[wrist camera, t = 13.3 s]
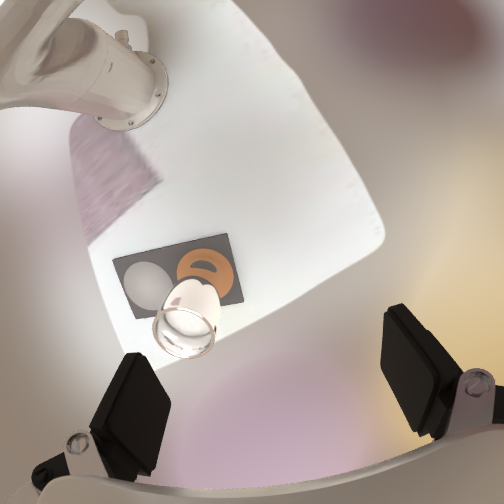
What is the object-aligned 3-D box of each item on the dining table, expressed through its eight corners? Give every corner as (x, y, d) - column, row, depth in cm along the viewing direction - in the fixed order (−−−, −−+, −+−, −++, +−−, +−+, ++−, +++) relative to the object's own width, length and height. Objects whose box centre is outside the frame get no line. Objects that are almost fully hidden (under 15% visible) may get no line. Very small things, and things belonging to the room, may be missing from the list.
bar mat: (113, 259, 40) (111, 260, 40) (226, 233, 39) (226, 234, 39) (137, 317, 44) (135, 319, 43) (243, 300, 43) (243, 302, 42)
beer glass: (182, 294, 42) (155, 357, 28) (179, 252, 39) (145, 303, 25) (227, 296, 42) (218, 362, 28) (227, 253, 40) (215, 307, 25)
